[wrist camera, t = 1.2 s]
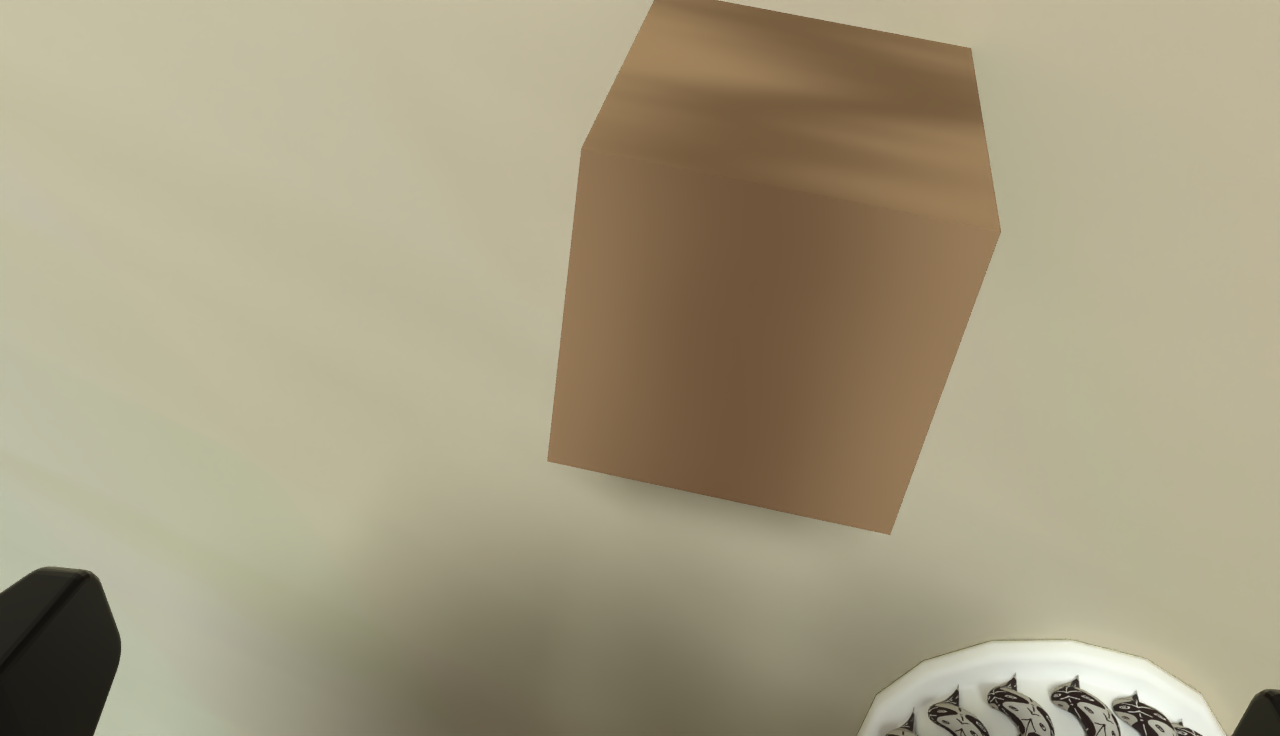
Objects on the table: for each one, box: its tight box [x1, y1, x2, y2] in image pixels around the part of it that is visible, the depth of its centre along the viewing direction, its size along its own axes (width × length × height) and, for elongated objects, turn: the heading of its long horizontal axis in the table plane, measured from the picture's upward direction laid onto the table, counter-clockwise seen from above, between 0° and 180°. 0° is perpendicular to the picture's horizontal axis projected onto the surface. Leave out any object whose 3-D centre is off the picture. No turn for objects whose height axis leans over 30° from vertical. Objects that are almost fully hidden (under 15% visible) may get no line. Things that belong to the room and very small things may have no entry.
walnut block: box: [547, 0, 1001, 535], centre depth 18 cm, size 5×5×6 cm
